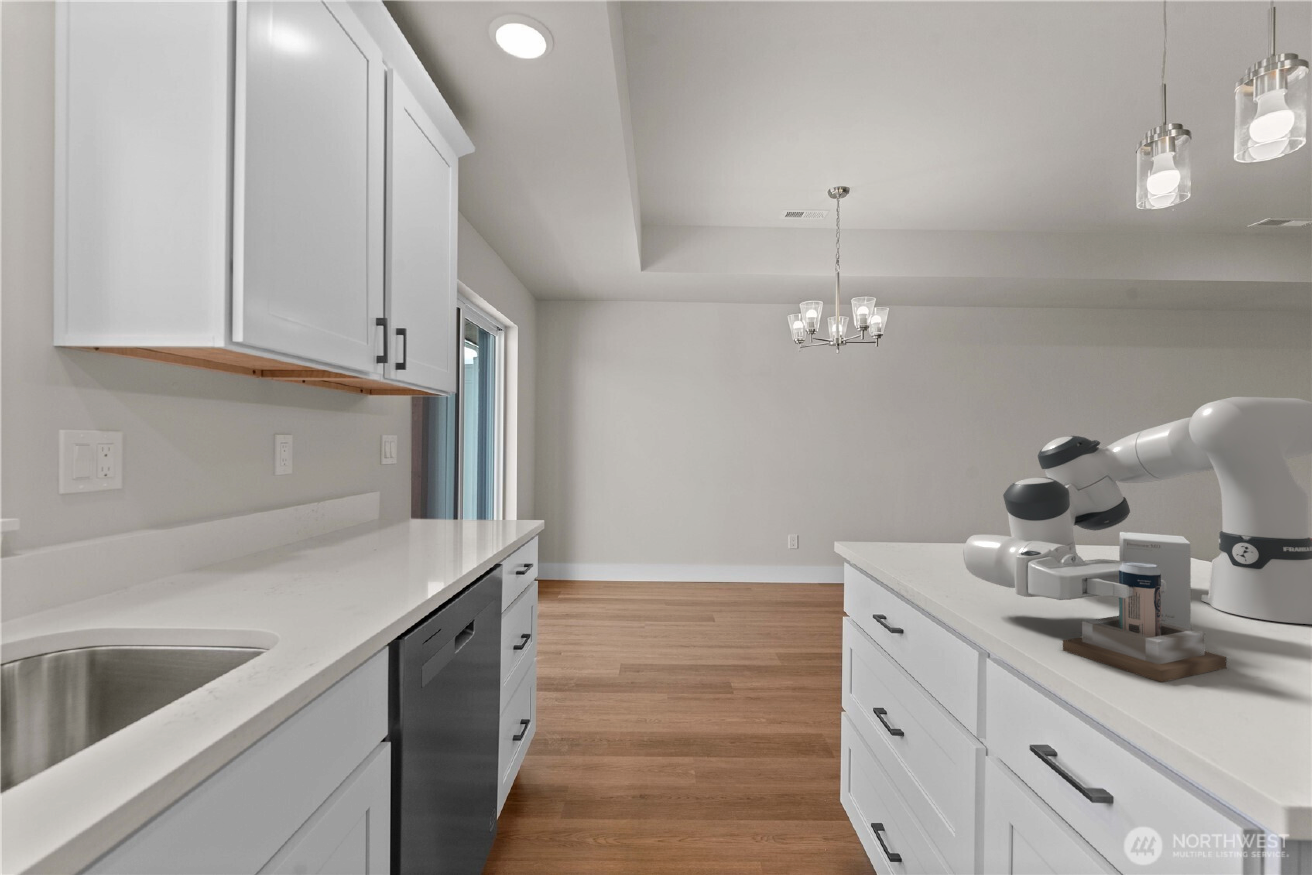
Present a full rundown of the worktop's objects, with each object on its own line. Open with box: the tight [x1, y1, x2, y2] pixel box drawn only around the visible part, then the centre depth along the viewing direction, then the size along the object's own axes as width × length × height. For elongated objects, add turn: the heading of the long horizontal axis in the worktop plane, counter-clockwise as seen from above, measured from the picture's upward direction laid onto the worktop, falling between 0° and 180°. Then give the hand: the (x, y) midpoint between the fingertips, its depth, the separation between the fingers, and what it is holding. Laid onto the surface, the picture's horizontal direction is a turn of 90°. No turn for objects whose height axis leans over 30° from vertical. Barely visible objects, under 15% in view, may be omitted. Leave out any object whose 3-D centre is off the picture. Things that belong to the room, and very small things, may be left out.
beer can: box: [1118, 561, 1161, 637], centre depth 88 cm, size 5×5×12 cm
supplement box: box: [1118, 531, 1192, 630], centre depth 104 cm, size 9×9×15 cm
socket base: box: [1062, 615, 1228, 683], centre depth 88 cm, size 14×13×4 cm
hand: (1147, 589), depth 87 cm, fingers open, 6 cm apart
